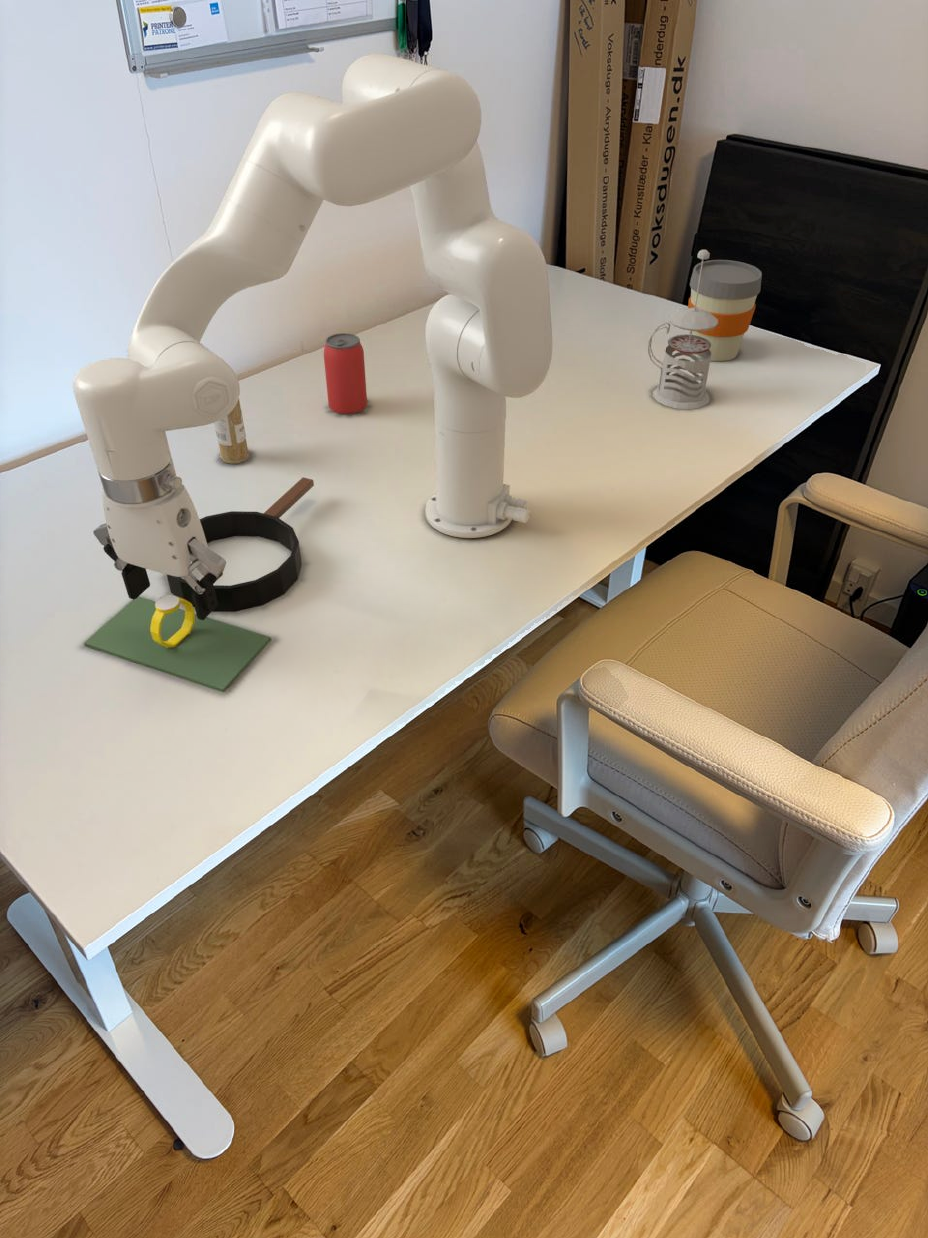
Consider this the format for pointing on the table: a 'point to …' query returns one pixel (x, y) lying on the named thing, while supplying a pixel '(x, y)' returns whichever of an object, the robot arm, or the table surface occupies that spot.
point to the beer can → (345, 374)
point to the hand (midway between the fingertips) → (173, 602)
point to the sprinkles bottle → (232, 437)
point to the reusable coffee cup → (725, 303)
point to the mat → (180, 645)
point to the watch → (165, 607)
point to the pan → (253, 526)
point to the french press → (680, 385)
